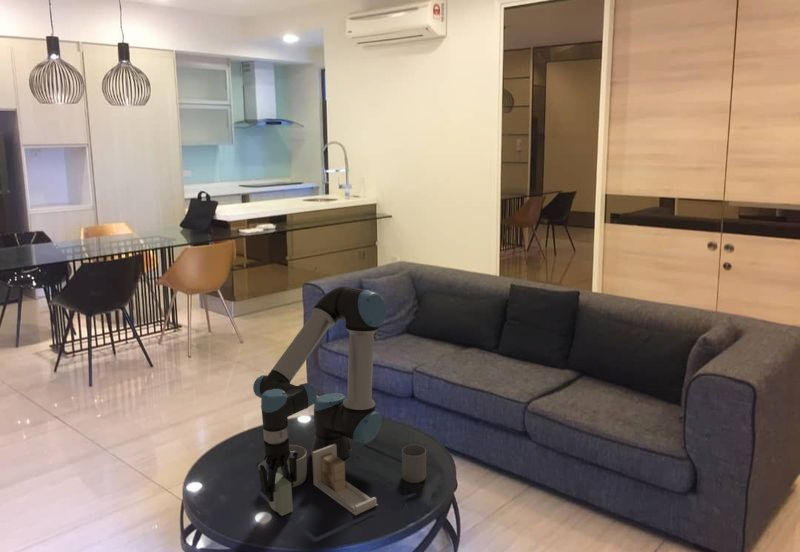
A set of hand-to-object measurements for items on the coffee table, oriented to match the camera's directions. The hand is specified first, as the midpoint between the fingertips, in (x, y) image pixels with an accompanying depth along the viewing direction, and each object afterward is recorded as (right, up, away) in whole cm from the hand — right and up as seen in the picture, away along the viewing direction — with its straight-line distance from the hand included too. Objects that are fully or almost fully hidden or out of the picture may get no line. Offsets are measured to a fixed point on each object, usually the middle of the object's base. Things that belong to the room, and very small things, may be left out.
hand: (280, 506), depth 208 cm
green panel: (0, -1, 0) cm, 1 cm away
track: (+20, 0, +9) cm, 21 cm away
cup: (+43, +3, +21) cm, 48 cm away
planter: (0, +2, +18) cm, 18 cm away
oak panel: (+15, +2, +13) cm, 21 cm away
